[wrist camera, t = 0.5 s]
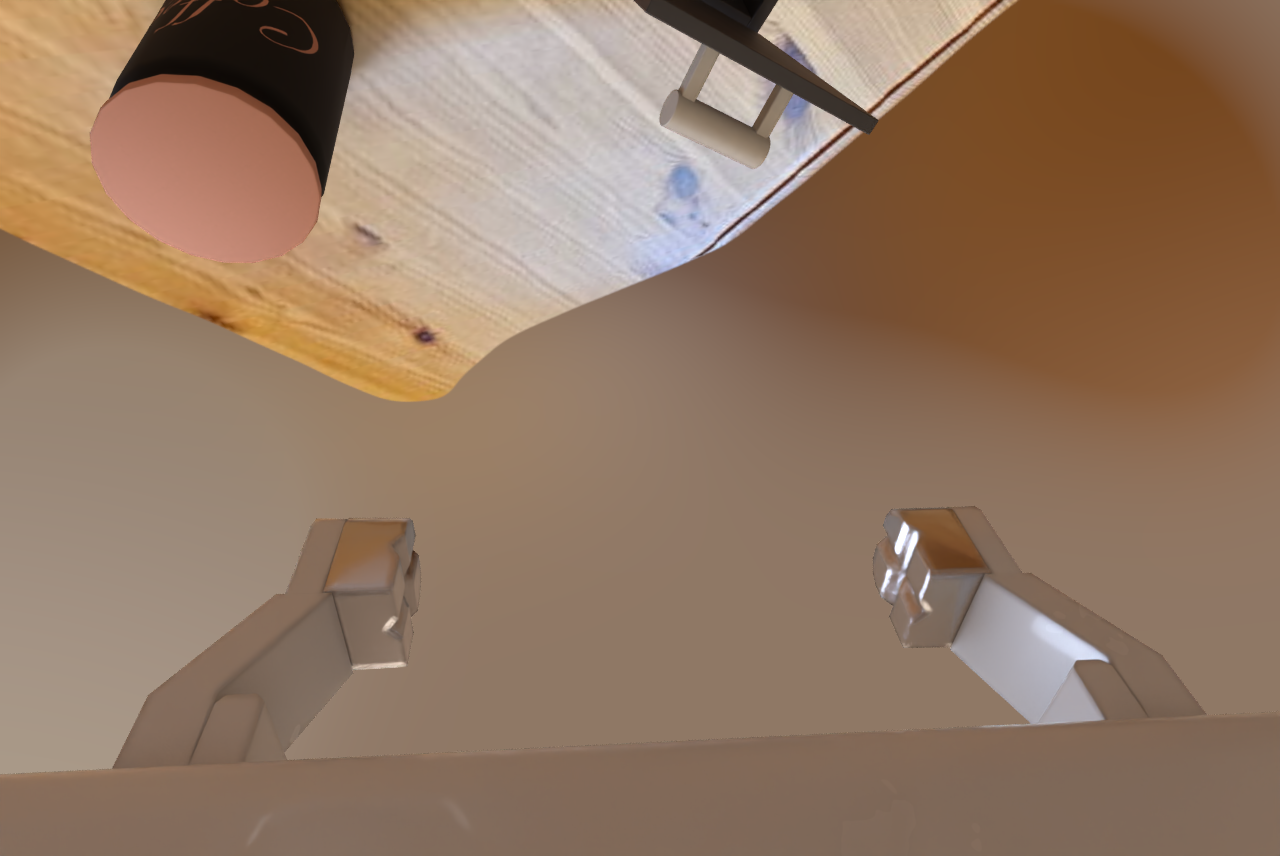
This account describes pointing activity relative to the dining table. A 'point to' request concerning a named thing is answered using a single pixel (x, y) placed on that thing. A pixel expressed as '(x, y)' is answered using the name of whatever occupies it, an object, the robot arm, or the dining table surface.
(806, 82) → the lid
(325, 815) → the robot arm
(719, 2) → the dark grey box
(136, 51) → the coffee jar
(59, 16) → the dining table surface
